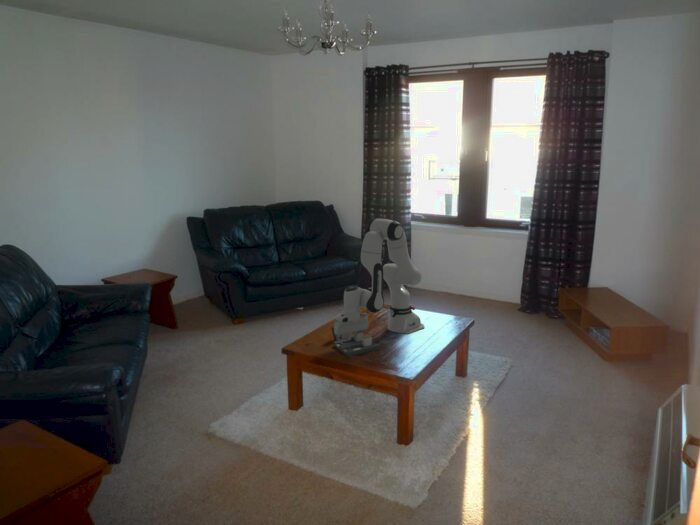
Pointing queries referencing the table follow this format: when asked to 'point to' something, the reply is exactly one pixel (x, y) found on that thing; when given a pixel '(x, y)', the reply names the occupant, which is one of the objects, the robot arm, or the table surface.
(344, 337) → the electrical switch
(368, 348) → the switch bank
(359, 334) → the tab
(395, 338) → the table surface
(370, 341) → the tab
